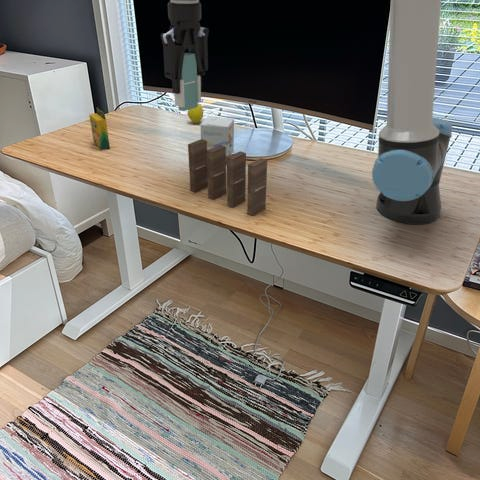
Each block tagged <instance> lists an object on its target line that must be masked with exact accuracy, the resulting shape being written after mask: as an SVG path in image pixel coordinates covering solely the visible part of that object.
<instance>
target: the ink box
mask: <svg viewBox="0 0 480 480" xmlns="http://www.w3.org/2000/svg"><path fill="white" fill-rule="evenodd" d="M199 126H200V139H203V140H206V141H207V150H209V149H212V148H214V147H217V146H219V145H222V146H225V147H226V165H227V157H228V156H231V155H232V153H233V151H234V147H235V144H234V141H235V140H234V139H235V136H234V135H235V118H232V117H220V116H210V115H207V117H206V118H205V119H204V120H203V121H202V122H201V123H200V125H199Z"/></svg>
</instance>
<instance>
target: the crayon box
mask: <svg viewBox="0 0 480 480" xmlns="http://www.w3.org/2000/svg"><path fill="white" fill-rule="evenodd" d="M88 117H89V121H90V127H91V133H92V140H93V144H94V145H95V146H96V147H98V148H99V149H100V150H101V151H106V150H110V149H111V146H110V140H109V133H108V125H107V120H106V119H107V118H106V115H105V113H104V112H103V111H102V110H101V109H99V107H96V113H89V116H88Z"/></svg>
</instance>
